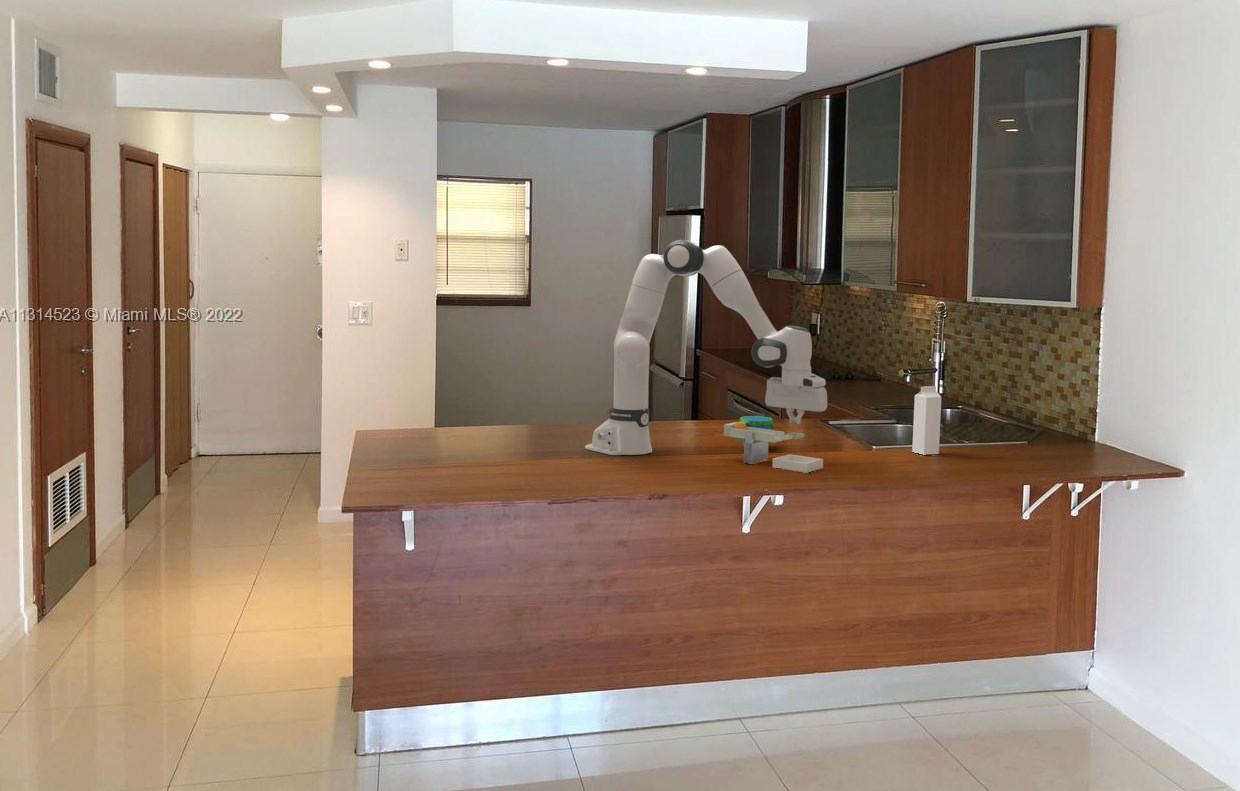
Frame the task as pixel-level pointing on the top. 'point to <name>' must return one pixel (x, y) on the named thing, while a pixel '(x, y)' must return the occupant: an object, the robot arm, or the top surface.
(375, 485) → the top surface
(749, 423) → the snack cup
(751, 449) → the stand
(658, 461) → the top surface
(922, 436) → the milk
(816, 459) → the white flat rimmed tray
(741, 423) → the ball
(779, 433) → the lever
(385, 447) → the top surface
